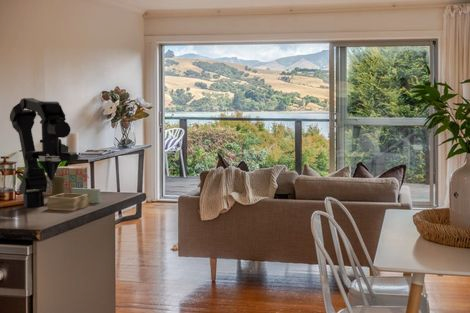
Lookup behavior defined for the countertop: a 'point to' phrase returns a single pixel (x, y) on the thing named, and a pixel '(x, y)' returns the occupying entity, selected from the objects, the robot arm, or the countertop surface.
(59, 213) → the countertop surface
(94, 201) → the track and backstop
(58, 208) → the socket block
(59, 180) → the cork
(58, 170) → the stack of blocks
